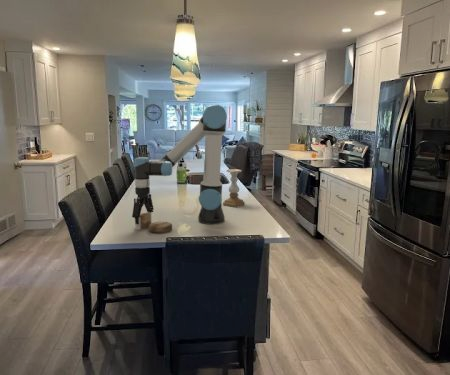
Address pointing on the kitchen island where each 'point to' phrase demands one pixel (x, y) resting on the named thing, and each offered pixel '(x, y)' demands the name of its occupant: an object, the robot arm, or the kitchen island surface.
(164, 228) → the plinth
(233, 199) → the candle holder
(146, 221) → the walnut block
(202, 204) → the robot arm
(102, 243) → the kitchen island surface
